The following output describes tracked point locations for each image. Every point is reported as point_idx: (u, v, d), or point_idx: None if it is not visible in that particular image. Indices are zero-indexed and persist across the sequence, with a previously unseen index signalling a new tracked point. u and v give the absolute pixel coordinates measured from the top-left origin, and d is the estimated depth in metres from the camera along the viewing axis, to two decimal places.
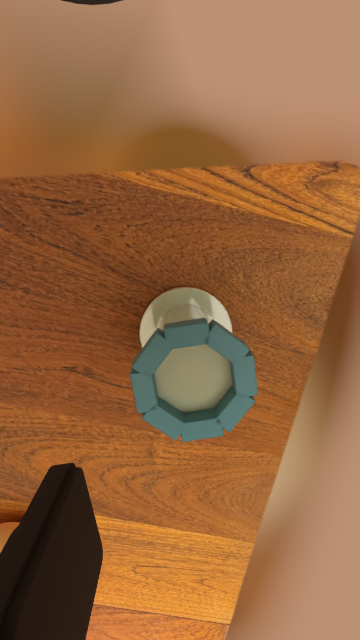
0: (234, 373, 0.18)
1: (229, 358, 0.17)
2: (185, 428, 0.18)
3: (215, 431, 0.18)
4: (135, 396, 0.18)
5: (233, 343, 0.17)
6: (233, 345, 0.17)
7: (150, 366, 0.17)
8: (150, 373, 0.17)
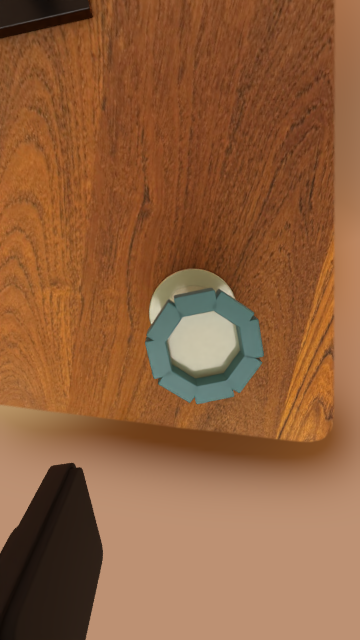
0: (216, 382, 0.20)
1: (230, 377, 0.20)
2: (160, 344, 0.19)
3: (158, 371, 0.19)
4: (192, 296, 0.18)
5: (245, 379, 0.20)
6: (243, 379, 0.20)
7: (222, 309, 0.19)
8: (215, 309, 0.19)
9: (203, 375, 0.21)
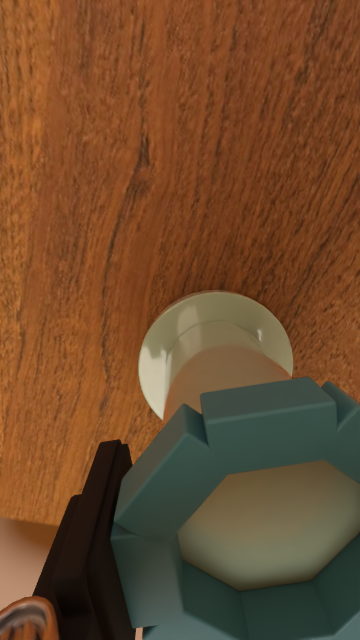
0: (305, 637, 0.07)
1: (347, 627, 0.07)
2: (153, 545, 0.06)
3: (144, 612, 0.07)
4: (264, 417, 0.06)
5: None
6: None
7: (354, 457, 0.06)
8: (331, 457, 0.06)
9: (260, 585, 0.08)
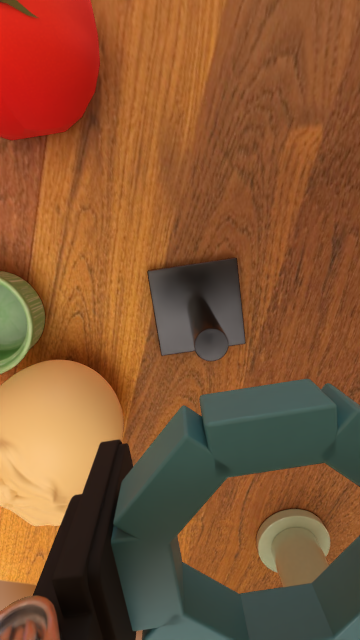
0: None
1: (347, 629, 0.07)
2: (153, 548, 0.06)
3: (144, 615, 0.07)
4: (264, 420, 0.06)
5: None
6: None
7: (354, 460, 0.06)
8: (332, 460, 0.06)
9: None
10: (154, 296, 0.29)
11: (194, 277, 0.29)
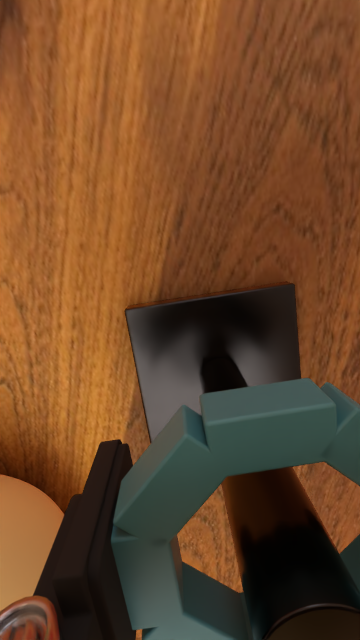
0: None
1: None
2: (153, 547, 0.06)
3: (144, 614, 0.07)
4: (263, 419, 0.06)
5: None
6: None
7: (353, 458, 0.06)
8: (331, 459, 0.06)
9: None
10: (139, 355, 0.15)
11: (213, 321, 0.15)
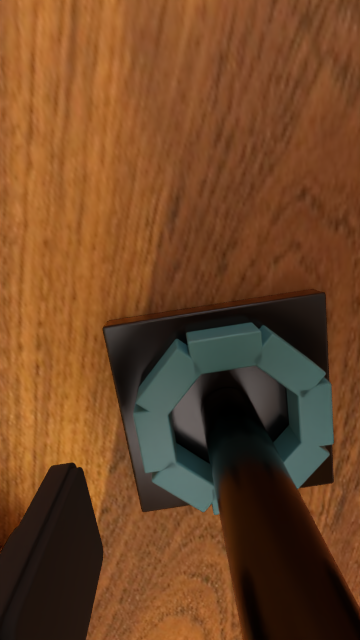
0: None
1: None
2: (158, 418, 0.11)
3: (153, 462, 0.11)
4: (220, 339, 0.10)
5: (299, 478, 0.12)
6: (295, 479, 0.12)
7: (272, 364, 0.11)
8: (260, 364, 0.11)
9: None
10: (122, 386, 0.12)
11: None
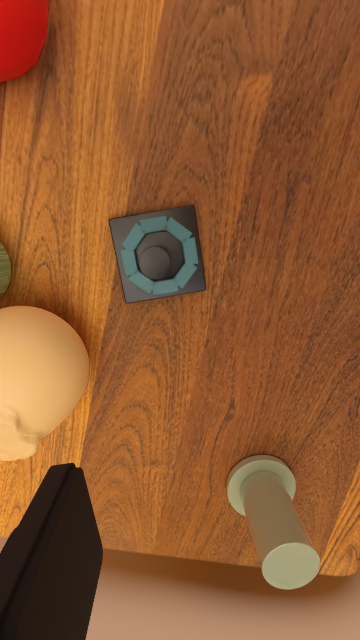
0: (167, 280, 0.30)
1: (176, 276, 0.30)
2: (130, 251, 0.29)
3: (128, 270, 0.29)
4: (151, 219, 0.28)
5: (186, 278, 0.30)
6: (184, 278, 0.30)
7: (171, 229, 0.29)
8: (167, 229, 0.29)
9: (289, 586, 0.29)
10: (116, 244, 0.30)
11: None
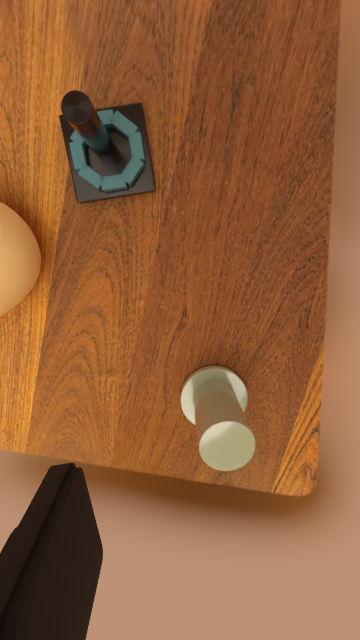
0: (114, 175, 0.31)
1: (123, 171, 0.31)
2: (78, 144, 0.30)
3: (77, 164, 0.31)
4: (98, 112, 0.30)
5: (133, 174, 0.31)
6: (131, 174, 0.31)
7: (117, 122, 0.30)
8: (113, 122, 0.30)
9: (225, 467, 0.30)
10: (67, 141, 0.31)
11: None
